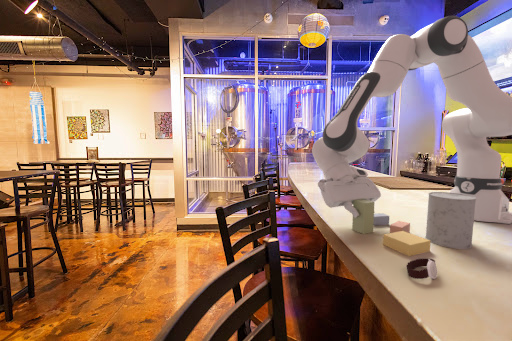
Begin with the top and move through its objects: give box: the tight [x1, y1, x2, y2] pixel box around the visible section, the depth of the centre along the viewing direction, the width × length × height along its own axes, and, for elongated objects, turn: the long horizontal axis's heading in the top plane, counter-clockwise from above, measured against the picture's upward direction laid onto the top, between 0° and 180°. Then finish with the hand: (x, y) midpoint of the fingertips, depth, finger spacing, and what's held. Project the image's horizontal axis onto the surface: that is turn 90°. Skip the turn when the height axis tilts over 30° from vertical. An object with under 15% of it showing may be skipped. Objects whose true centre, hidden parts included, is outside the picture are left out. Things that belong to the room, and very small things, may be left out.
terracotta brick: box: [389, 220, 411, 234], centre depth 68 cm, size 6×3×3 cm, turn 129°
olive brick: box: [351, 199, 375, 235], centre depth 70 cm, size 4×4×9 cm
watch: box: [406, 257, 438, 280], centre depth 46 cm, size 8×5×4 cm, turn 126°
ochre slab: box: [382, 231, 432, 257], centre depth 58 cm, size 7×7×3 cm
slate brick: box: [373, 213, 390, 226], centre depth 77 cm, size 6×3×3 cm, turn 99°
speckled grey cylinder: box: [424, 191, 476, 250], centre depth 62 cm, size 10×10×12 cm
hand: (365, 215), depth 69 cm, fingers closed on olive brick, 4 cm apart
